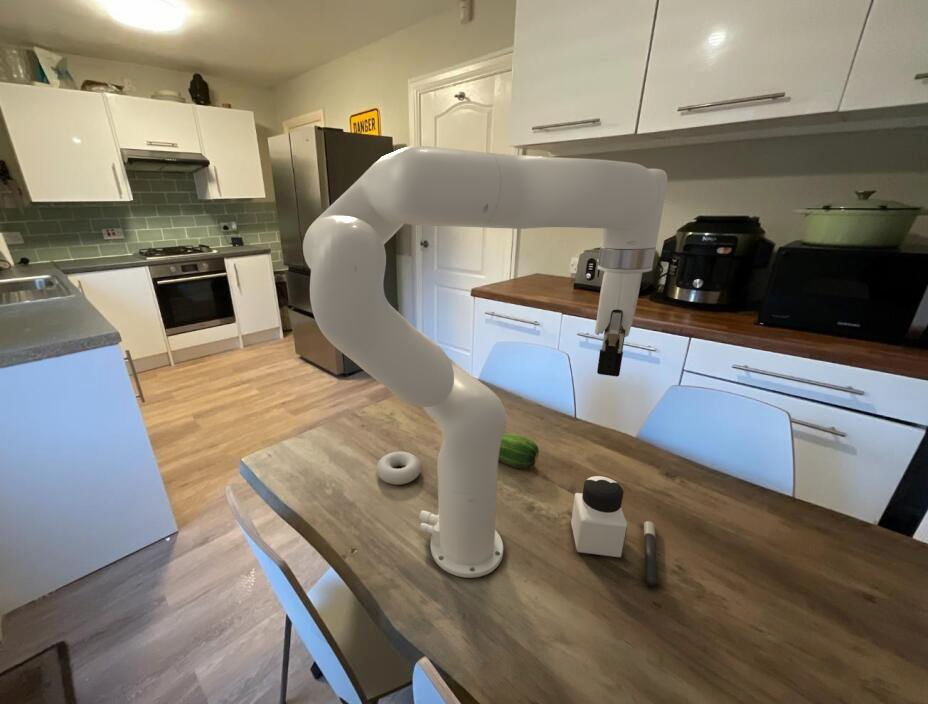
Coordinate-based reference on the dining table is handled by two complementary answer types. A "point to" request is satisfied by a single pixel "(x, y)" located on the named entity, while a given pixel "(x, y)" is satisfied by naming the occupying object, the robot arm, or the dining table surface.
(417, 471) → the donut
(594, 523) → the white block black top
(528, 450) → the vegetable
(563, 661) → the dining table surface
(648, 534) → the marker
